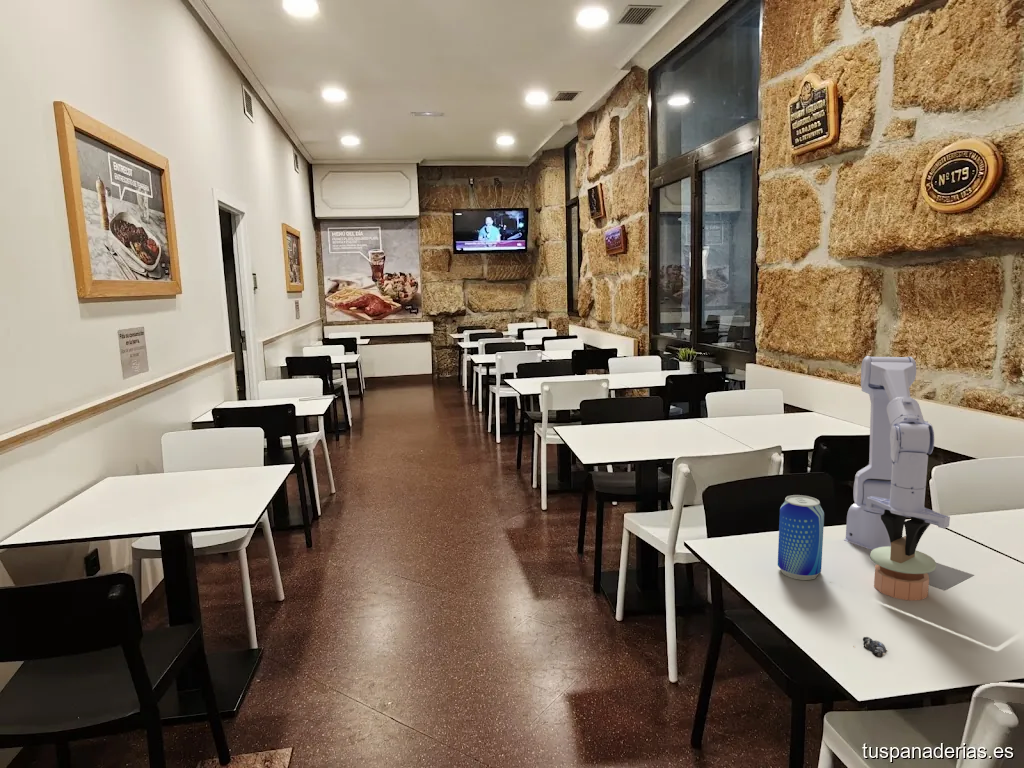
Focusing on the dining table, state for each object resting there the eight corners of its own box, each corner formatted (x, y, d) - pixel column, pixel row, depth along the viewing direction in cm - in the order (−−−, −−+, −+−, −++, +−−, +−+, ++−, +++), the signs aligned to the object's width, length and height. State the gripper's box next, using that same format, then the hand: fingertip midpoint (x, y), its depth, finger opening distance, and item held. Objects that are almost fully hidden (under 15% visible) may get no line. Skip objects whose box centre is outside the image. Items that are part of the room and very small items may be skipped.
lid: (858, 558, 128) (859, 538, 127) (889, 544, 133) (890, 525, 133) (916, 579, 118) (918, 558, 118) (947, 563, 124) (948, 542, 123)
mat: (882, 570, 136) (882, 568, 136) (912, 557, 142) (913, 554, 142) (944, 592, 126) (944, 590, 126) (974, 577, 132) (974, 575, 132)
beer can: (826, 571, 136) (830, 499, 134) (812, 585, 130) (816, 509, 128) (786, 560, 142) (789, 491, 139) (771, 573, 136) (774, 501, 133)
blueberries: (862, 666, 104) (863, 655, 104) (838, 635, 112) (839, 626, 112) (904, 665, 104) (905, 655, 104) (876, 635, 112) (878, 625, 112)
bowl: (864, 588, 128) (865, 569, 128) (889, 577, 133) (890, 558, 132) (911, 606, 121) (913, 586, 120) (936, 594, 125) (937, 574, 125)
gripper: (859, 479, 128) (855, 544, 130) (938, 498, 115) (932, 570, 117) (879, 473, 131) (874, 536, 133) (957, 491, 119) (951, 561, 121)
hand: (903, 551), depth 126 cm, fingers closed on lid, 2 cm apart
